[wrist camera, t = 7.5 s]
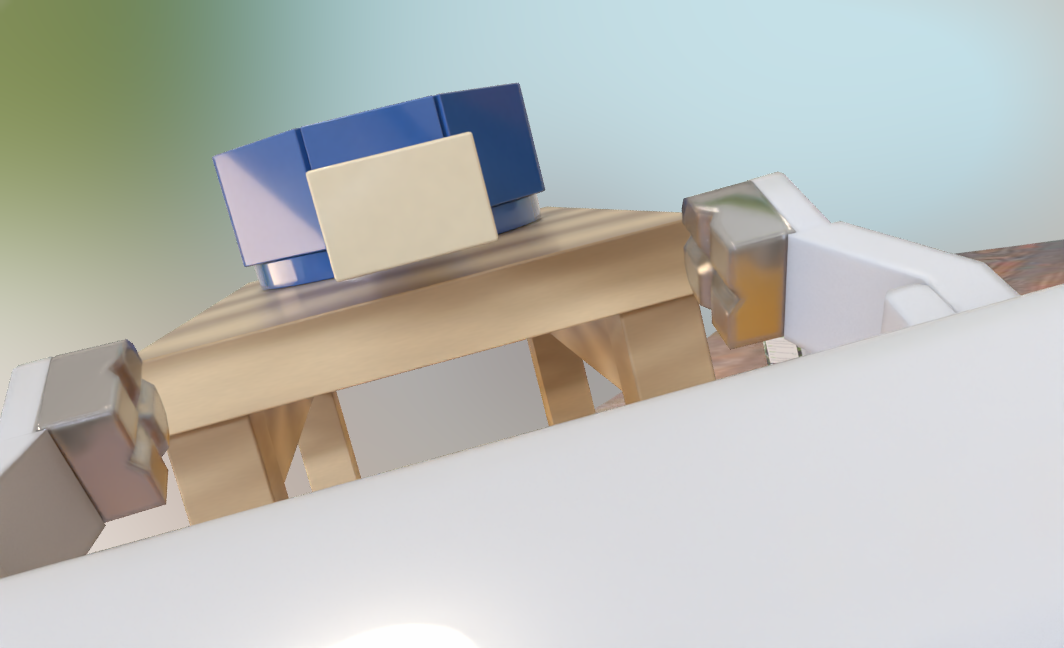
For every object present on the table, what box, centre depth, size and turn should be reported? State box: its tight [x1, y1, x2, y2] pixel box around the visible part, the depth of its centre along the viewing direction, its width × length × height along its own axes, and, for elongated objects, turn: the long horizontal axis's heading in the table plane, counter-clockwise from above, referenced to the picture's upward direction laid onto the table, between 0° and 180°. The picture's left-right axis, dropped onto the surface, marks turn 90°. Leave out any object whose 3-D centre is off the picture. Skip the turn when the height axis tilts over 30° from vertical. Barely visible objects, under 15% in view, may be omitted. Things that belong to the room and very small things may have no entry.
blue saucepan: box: [212, 83, 545, 290], centre depth 29 cm, size 30×11×5 cm, turn 9°
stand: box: [138, 207, 716, 526], centre depth 36 cm, size 23×14×26 cm, turn 9°
